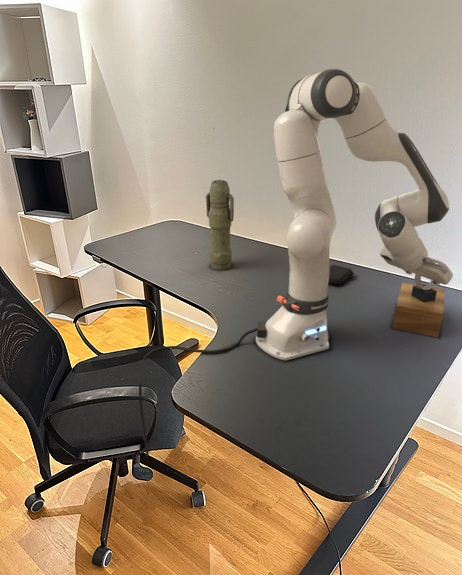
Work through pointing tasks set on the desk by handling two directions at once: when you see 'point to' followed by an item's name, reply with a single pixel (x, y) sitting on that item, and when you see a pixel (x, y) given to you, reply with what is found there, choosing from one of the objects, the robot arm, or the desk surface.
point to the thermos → (220, 224)
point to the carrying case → (339, 274)
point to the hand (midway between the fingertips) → (423, 277)
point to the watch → (423, 290)
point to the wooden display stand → (419, 312)
